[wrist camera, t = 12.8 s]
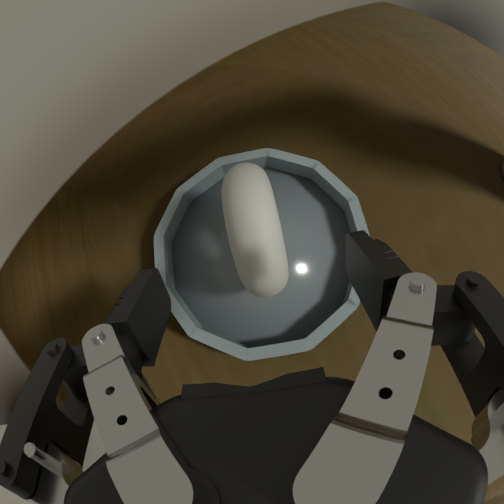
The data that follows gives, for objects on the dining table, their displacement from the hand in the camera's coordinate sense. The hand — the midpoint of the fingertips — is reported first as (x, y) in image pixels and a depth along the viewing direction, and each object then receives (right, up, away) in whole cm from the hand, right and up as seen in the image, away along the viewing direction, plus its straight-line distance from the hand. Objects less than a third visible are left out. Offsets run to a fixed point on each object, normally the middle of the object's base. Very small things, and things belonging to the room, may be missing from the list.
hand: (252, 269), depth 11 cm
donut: (+1, +1, +14) cm, 14 cm away
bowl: (+1, +1, +15) cm, 15 cm away
